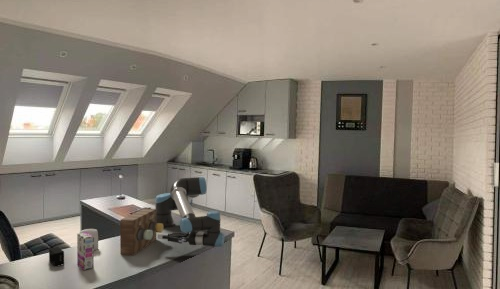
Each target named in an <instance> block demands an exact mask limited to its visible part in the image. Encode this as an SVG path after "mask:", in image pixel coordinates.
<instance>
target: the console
mask: <svg viewBox="0 0 500 289" xmlns="http://www.w3.org/2000/svg"><path fill="white" fill-rule="evenodd" d="M119 221H120V223H119V226H120V227H119V230H120V231H119V232H120V236H119V237H120V239H119V240H120V244H119V246H120V248H119V249H120V254H122V255H123V256H135V255H136V254H138V253H139V252H141V251H142V250H143V249H145V248H147V246H149V245H151V244H152V243H153V242H155V241H157V232H155V226H156V209H155V208H143V209H140V210H139V211H137V212H134V213H132V214H129V215H127V216H125V217H124V218H120V220H119ZM145 230H152V231H153V237H152V239H151V240H145V239H144V232H145ZM122 255H121V256H122Z"/></svg>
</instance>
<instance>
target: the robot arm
mask: <svg viewBox="0 0 500 289" xmlns="http://www.w3.org/2000/svg"><path fill="white" fill-rule="evenodd" d="M169 191H170V192H165V193H161V194H157V195H156V196H155V202H154V203H155V205H154V206H155V208H154V209H156V224H157V223H162V224H163V226H164V228H169V227H173V226H174V222H175V220H174V218H173V216H172V211H178V213H179V216H180V218H181V219H180V220H179V228H180V231H181V232H171V233H163V232H161V233H159V232H158V233H157V239H158V240H167V242H173V243H177V244H182V243H188V244H189V245H190V246H199V247H200V246H201V247H213V248H214V247H215V248H216V247H217V248H221V247H223V246H224V244H225V239H226V238H225V234H224V233H223V232H221V214H220V212H219V211H218V210H210V211H207V212H206V215H202V216H196V214H195V212H194V210H193V207H192V206H193V199H194V198H198V197H199V196H202V195H206V194H207V180H206V178H205V177H204V176H197V177H182V178H178V179H176V180H175V181H174V182H173V183H172V184H171V186H170V190H169ZM164 228H163V229H164Z"/></svg>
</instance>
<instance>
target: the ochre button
mask: <svg viewBox="0 0 500 289" xmlns="http://www.w3.org/2000/svg"><path fill="white" fill-rule="evenodd" d="M163 231H164V226H163V224H162V223H157V224H156V226H155V232H156V233H158V234H159V233H163Z"/></svg>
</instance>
